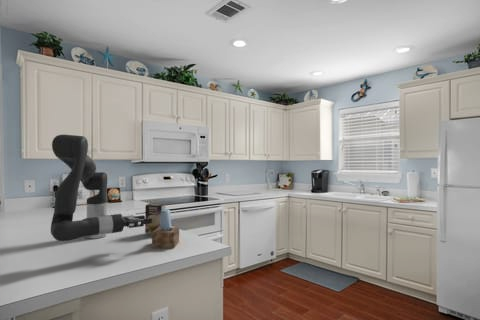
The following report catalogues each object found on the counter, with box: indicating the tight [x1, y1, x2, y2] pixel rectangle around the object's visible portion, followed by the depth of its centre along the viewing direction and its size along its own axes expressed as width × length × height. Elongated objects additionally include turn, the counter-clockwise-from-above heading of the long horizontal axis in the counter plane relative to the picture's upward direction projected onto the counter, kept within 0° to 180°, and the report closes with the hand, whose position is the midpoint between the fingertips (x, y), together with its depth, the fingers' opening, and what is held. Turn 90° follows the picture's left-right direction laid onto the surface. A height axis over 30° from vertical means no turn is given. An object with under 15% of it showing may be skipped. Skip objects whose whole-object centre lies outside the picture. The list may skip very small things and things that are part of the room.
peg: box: [161, 209, 171, 231], centre depth 131 cm, size 4×4×14 cm
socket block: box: [151, 226, 180, 249], centre depth 131 cm, size 10×10×7 cm
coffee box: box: [144, 203, 166, 237], centre depth 150 cm, size 9×6×16 cm
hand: (148, 219), depth 126 cm, fingers open, 8 cm apart
